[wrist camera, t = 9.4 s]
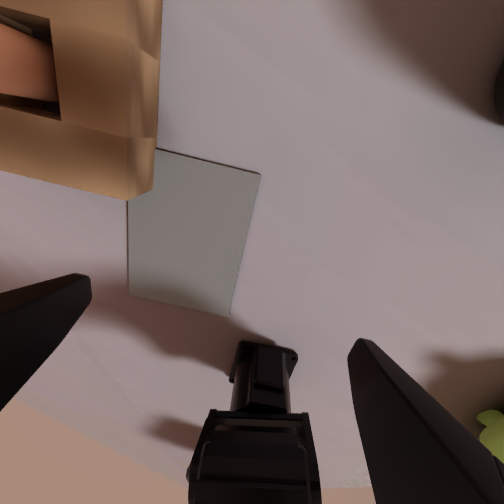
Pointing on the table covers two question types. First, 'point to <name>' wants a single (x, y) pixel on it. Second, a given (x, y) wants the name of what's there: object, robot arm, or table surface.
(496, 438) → the teapot
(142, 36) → the socket block
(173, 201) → the mat
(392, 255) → the table surface
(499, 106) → the mug
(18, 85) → the peg
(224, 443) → the robot arm
